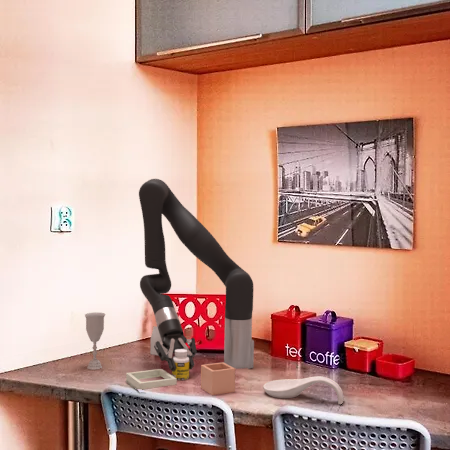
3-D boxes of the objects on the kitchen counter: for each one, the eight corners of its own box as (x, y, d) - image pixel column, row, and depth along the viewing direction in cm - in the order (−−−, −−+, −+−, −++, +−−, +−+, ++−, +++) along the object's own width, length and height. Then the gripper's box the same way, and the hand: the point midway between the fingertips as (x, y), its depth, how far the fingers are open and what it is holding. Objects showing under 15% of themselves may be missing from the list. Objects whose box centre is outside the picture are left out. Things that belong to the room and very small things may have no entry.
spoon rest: (258, 401, 197) (259, 377, 197) (268, 389, 208) (268, 366, 208) (340, 410, 190) (341, 385, 190) (345, 398, 202) (346, 374, 201)
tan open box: (222, 387, 208) (223, 362, 208) (234, 395, 202) (235, 368, 201) (200, 391, 205) (201, 365, 204) (212, 398, 198) (212, 371, 198)
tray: (161, 377, 218) (161, 368, 218) (176, 387, 208) (176, 378, 208) (126, 381, 213) (126, 373, 213) (139, 392, 202) (139, 383, 202)
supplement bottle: (176, 384, 211) (176, 353, 211) (169, 379, 216) (169, 349, 215) (191, 382, 214) (192, 351, 213) (184, 377, 219) (185, 347, 218)
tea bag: (166, 356, 244) (166, 329, 243) (150, 354, 247) (150, 327, 247) (171, 354, 247) (171, 327, 247) (156, 352, 251) (156, 325, 250)
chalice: (100, 371, 224) (100, 317, 223) (80, 369, 226) (81, 316, 224) (108, 365, 231) (108, 313, 230) (89, 363, 233) (89, 311, 232)
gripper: (151, 319, 217) (165, 365, 207) (191, 316, 224) (207, 360, 214) (145, 332, 222) (158, 378, 212) (185, 328, 229) (199, 372, 219)
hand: (183, 369), depth 213 cm, fingers closed on supplement bottle, 5 cm apart
